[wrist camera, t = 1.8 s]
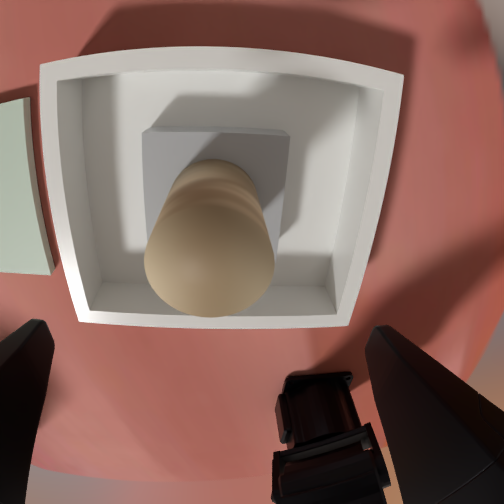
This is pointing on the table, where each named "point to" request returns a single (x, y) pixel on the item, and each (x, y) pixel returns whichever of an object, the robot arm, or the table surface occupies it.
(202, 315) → the birch cylinder
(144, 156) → the tray
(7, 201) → the green pad
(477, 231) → the table surface
